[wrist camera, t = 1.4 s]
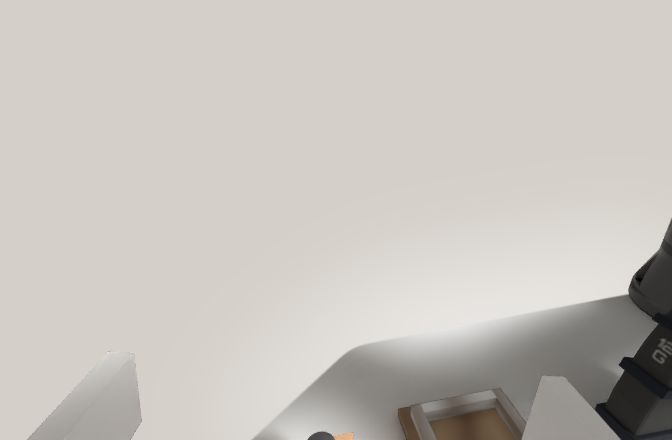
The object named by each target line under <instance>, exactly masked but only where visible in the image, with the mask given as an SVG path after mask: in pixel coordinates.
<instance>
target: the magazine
mask: <svg viewBox="0 0 672 440" xmlns="http://www.w3.org/2000/svg"><path fill="white" fill-rule="evenodd" d="M652 320H654V321H655V322H657V323H659V324H658V325H657V327H656V328H655V329H654V330H653V331H652V333H651V334H650V335H649V336H648V338H647V339H646V340H645V341H644V343H643V344H642V346H641V347H640V349H639V350H638V352H637V353H636V355H635V356H634V358H631V357H624V358H623V359H622V361H621V362H620V364H619V366H620V367H621V368H623V369H624V370H625V371H624V373H623V374H622V376H621V378H620V379H619V381H618V382H617V384H616V386H615V387H614V389H613V391H612V393H611V395H610V397H609V399H608V401H607V402H606V403H600V404H597V406H596V408H595V411H596V412H597V413H598V415H599V416H600V417H601V418H602V419H603V420H604V421H605V422H606V424H607V425H608V426H609V427H610V428H611V429H612V430H613V431H614V433H615V434H616V435H617V436H618V437H619V438H620V439H621V440H672V308H671V309H670V311H669V312H668V313H667V314H666V315H665V314H662V313H659V312H657V313H656V314H655V315H654V317H653V318H652Z"/></svg>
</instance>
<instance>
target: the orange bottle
mask: <svg viewBox="0 0 672 440" xmlns="http://www.w3.org/2000/svg"><path fill="white" fill-rule="evenodd" d="M308 440H354V438H353V434H352V433H348V434H343V435H338V436H334V437H333V436H332V435H331V434H329V433H327V432H317V433H314V434H313V435H311V436H310V437H309V439H308Z"/></svg>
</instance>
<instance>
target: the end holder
mask: <svg viewBox="0 0 672 440" xmlns="http://www.w3.org/2000/svg"><path fill="white" fill-rule="evenodd" d="M398 417H399V419H400V422H401V425H402V427H403V430H404V433H405V435H406V438H407V440H522V436H523V433H524V430H525V427H526V422H525V421H524V420H523V418H522V417H521V416H520V414H519V413H518V412H517V410H516V409H515V407H514V406H513V405H512V403H511V402H510V401H509V399H508V398H507V397H506V395H505V394H504V392H503V391H502V390H501V388H497V389H492V390H487V391H482V392H477V393H472V394H467V395H462V396H457V397H452V398H447V399H442V400H437V401H432V402H427V403H422V404H417V405H412V406H410V407H405V408H400V409H398Z"/></svg>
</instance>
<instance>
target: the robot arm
mask: <svg viewBox="0 0 672 440" xmlns="http://www.w3.org/2000/svg"><path fill="white" fill-rule="evenodd" d="M629 295H630V297H631V298H632V300H633V301H634V302H635V303H636V304H637V305H638V306H639V307H640V308H641V309H643V310H644V311H645V312H647V313H648V314H650V315H651V316H653V317H654V315H655V314H656V313H657V312H659V313H662V314H665V315H666V314H667V313H668V312H669V311H670V309H671V308H672V219H671V221H670V224H669V226H668V229H667V231H666V234H665V236H664V239H663V242H662V244H661V246H660V249H659V250H658V251H657V252H656V253H655V254H654V255H653V256H652V257H651V258H650V259H649V260H648V261H647V262H646V263H645V264H644V265H643V266H642V267H641V268H640V269H639V270H638V271H637V272H636V273H635V275H634V276H633V278H632V281H631V283H630V286H629ZM141 421H142V420H141V411H140V403H139V393H138V384H137V375H136V366H135V357H134V353H130V352H113V351H109V352H108V353H107V354H106V355H105V356H104V357H103V358H102V359H101V360H100V361H99V363H98V364H97V365H96V366H95V367H94V368H93V369H92V370H91V371H90V372H89V374H87V376H86V377H85V378H84V379H83V380H82V381H81V382H80V383H79V384H78V385H77V386H76V387H75V388H74V390H73V391H72V392H71V393H70V394H69V395H68V396H67V397H66V398H65V399H64V400H63V401H62V403H61V404H60V405H59V406H58V407H57V408H56V409H55V410H54V411H53V412H52V413H51V415H49V417H48V418H47V419H46V420H45V421H44V422H43V423H42V424H41V425H40V426H39V427H38V428H37V429H36V431H35V432H34V433H33V434H32V435H31V436H30V437H29V438H28V439H27V440H131V438H132V436H133V435H134V433H135V431H136V430H137V428H138V426H139V425H140V423H141ZM522 440H621V439H620V438H619V437H618V436H617V435H616V434H615V433H614V431H613V430H612V429H611V428H610V427H609V426H608V425H607V424H606V422H605V421H604V420H603V419H602V418H601V417H600V416H599V415H598V413H597V412H596V411H595V410H594V409H593V408H592V407H591V406H590V405H589V403H588V402H587V401H586V400H585V399H584V398H583V397H582V396H581V394H580V393H579V392H578V391H577V390H576V389H575V388H574V387H573V385H572V384H571V383H570V382H569V381H568V380H567V379H566V378H565V377H563V376H545V375H542V377H541V380H540V383H539V386H538V389H537V392H536V396H535V399H534V402H533V405H532V408H531V411H530V414H529V417H528V421H527V424H526V427H525V430H524V433H523V436H522Z"/></svg>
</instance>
